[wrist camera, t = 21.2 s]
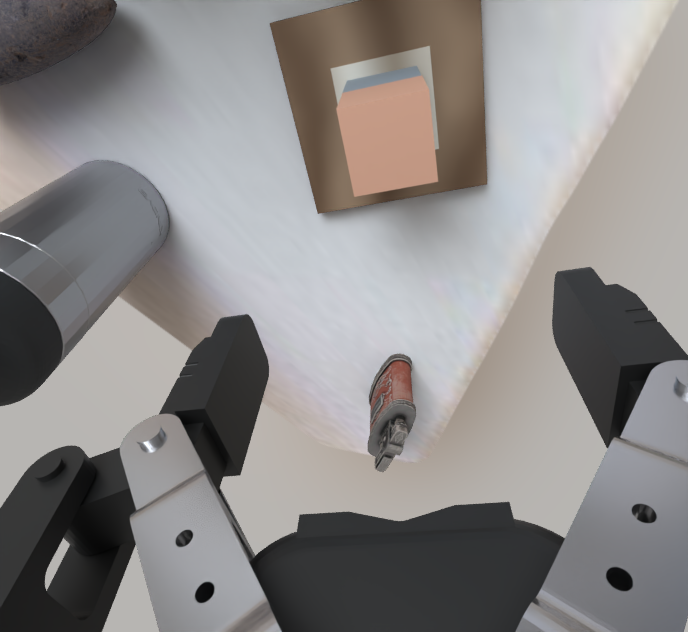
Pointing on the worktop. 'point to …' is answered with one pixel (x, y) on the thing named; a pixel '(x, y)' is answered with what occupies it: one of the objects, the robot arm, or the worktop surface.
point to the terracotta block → (388, 136)
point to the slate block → (381, 78)
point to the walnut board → (379, 57)
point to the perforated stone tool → (47, 32)
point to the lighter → (390, 410)
